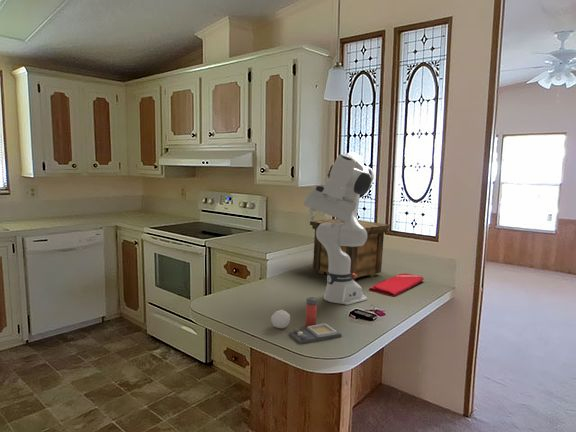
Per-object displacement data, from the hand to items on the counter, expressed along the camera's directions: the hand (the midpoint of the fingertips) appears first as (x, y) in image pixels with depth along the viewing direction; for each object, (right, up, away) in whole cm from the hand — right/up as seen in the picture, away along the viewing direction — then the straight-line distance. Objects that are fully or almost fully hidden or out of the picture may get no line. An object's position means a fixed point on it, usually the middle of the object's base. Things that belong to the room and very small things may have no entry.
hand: (321, 223), depth 172 cm
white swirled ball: (-17, -43, 0) cm, 47 cm away
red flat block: (+49, -38, +68) cm, 92 cm away
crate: (+23, -34, +89) cm, 98 cm away
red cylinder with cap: (-5, -43, +2) cm, 44 cm away
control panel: (-3, -45, -7) cm, 45 cm away
